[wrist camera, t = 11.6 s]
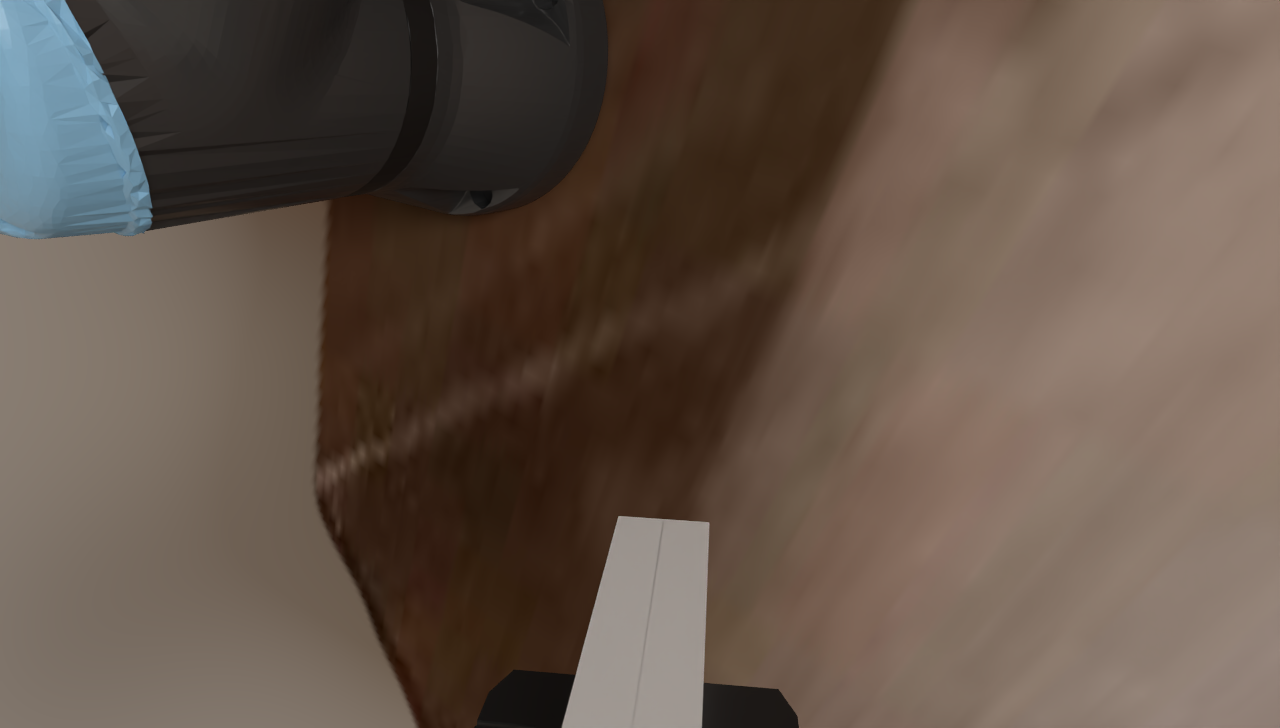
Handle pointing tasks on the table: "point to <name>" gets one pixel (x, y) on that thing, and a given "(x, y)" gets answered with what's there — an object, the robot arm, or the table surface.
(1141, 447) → the table surface
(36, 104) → the robot arm
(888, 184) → the table surface
